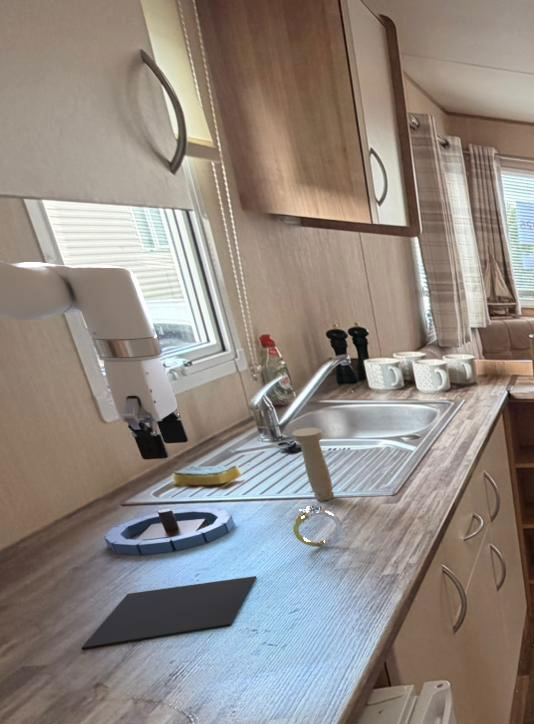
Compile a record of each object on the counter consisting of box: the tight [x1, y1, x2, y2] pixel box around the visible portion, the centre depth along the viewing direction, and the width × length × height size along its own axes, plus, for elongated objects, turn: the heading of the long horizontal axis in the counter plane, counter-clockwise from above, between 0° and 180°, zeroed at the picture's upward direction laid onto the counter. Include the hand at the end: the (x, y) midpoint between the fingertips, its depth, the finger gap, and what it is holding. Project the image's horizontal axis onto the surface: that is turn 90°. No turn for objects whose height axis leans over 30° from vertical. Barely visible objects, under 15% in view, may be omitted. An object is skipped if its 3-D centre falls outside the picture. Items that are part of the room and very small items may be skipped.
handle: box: [291, 427, 335, 502], centre depth 135 cm, size 5×6×15 cm
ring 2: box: [292, 504, 343, 548], centre depth 116 cm, size 7×3×8 cm, turn 119°
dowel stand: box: [136, 507, 209, 540], centre depth 118 cm, size 8×8×5 cm
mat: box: [81, 575, 257, 651], centre depth 97 cm, size 16×16×1 cm
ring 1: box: [103, 507, 235, 556], centre depth 119 cm, size 17×17×2 cm
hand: (166, 450), depth 110 cm, fingers open, 9 cm apart
